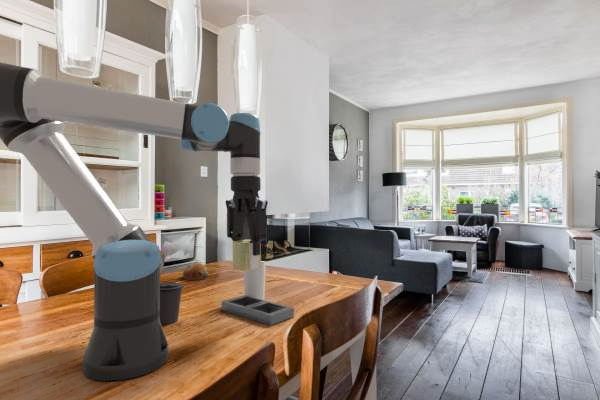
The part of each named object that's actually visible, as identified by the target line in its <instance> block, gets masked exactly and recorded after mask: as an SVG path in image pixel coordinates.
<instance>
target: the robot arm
mask: <svg viewBox="0 0 600 400" xmlns="http://www.w3.org/2000/svg"><path fill="white" fill-rule="evenodd" d="M65 123H69V124H70V123H71V124H77V125H84V126H90V127H96V128H97V127H98V128H103V129H108V130H109V129H111V130H116V131H123V132H129V133H130V132H131V133H137V134H143V135H151V136H156V137H164V138H168V139H169V138H171V139H177V140H180V148H181V149H182V150H184V151H192V152H195V153H196V152H225V153H227V152H228V153H230V174H231V175H232V176H231V177H230V190H231V191H232V192H233V195H232V198H231V199H226V201H225V206H226V237H227V238H230V239H231V241H232V242H233V241H238V240H245V239H244V237H243V232H244V231H243V230H244V227H245V226H244V225H245V220H246V219H247V220H246V221H247V225H248V231H249V237H250V239H251V241H249V242H250V243H249V269H255V268H259V255H260V242H261V243H262V241H266V240H267V238H268V237H267V236H268V235H267V233H268V232H267V208H268V203H269V201H268V199H262V198H260V196H259V191H261V189H262V188H261V184H262V183H261V177H260V176H259V175H260V174H261V126H260V118H259V117H258V116H257V115H256V114H254V113H251V112H235V113H233V114H231V115H230V117H229V115H228V114H227V112H226V111H225V110H224V108H222V106H220V105H218V104H215V103H210V102H207V103H203V104H201V105H197V104H191V103H185V102H181V101H180V102H179V101H175V100H168V99H163V98H160V97H159V98H158V97H155V96H154V97H153V96H149V95H147V96H146V95H144V94H143V95H142V94H137V93H132V92H127V91H126V92H125V91H121V90H117V89H111V88H105V87H101V86H100V87H99V86H96V85H95V86H94V85H90V84H85V83H79V82H74V81H68V80H62V79H58V78H52V77H47V76H44V75H43V74H42V73H41V71H39V70H38V69H35V68H30V67H25V66H20V65H15V64H11V63H6V62H0V140H1V141H2V143H3V144H4V145H5V146H6V147H7V149H8V151H11V152H14V153H20V154H22V155H23V156H24V157H25V159H26V160H27V161H28V162H29V164H30V165H31V167H32V168H33V169H34V171H35V172H36V173H37V174H38V176H39V177H40V178H41V180H42V181H43V182H44V184H46V186H47V187H48V189H49V190H50V192H51V193H52V194H53V195H54V196H55V198H56V199H57V201H58V202H59V203H60V204H61V206H62V207H63V209H64V210H65V211H66V212H67V213H68V215H69V216H70V217H71V219H73V221H74V223H76V225H77V226H78V228H79V229H80V230H81V231H82V232H83V234H84V235H85V236H86V238H87V239H88V240H89V243H91V245H92V250H91V257H92V258H93V263H92V264H93V270H94V271H93V272H94V279H93V280H94V281H93V282H94V284H93V286H94V287H93V290H94V293H93V294H94V295H93V301H94V303H93V330H92V332H91V336H90V338H89V341H88V344H87V346H86V349H85V352H84V354H83V357H82V373H83V375H84V376H85V377H86V378H88V379H91V380H94V381H101V382H102V381H104V382H113V381H112V380H117V381H125V380H130V379H133V377H135V378H137V376H138V377H140V376H141V375H142V376H144V374H145V375H147V374H149V372H150V373H151V371H152V372H154V371H156V370H158V369H159V368H161V367H162V366H164V365H165V363H167V362H168V359H169V343H168V340H167V336H166V335H165V332H164V329H163V325H161V323H160V283H161V277H162V274H163V270H164V265H165V263H164V262H165V261H164V257H163V253H162V251H161V249H160V246H159V245H158V244H157V243H155V242H154V241H151V240H150V239H149V237H148V236H147V234H146V233H145V232H144V230H143V229H142V228H141V226H140V225H138V224H133V223H129V222H128V220H127V219H126V218H125V216H124V215H123V214H122V213H121V211H120V210H119V208H118V206H117V205H116V204H115V202H114V201H113V200H112V199H111V197H110V196H109V195H108V193H107V192H106V190H105V189H104V188H103V186H102V185H101V184H100V182H99V181H98V179H96V177H95V176H94V174H93V173H92V172H91V170H90V169H89V168H88V166H87V165H86V163H85V162H84V161H83V159H82V158H81V157H80V155H79V154H78V153H77V152H76V150H75V149H74V148H73V146H72V145H71V143H70V142H69V140H68V138H67V137H66V136H65V135H64V133H65V129H66V124H65ZM157 368H158V369H157ZM129 378H130V379H129ZM124 379H125V380H124ZM106 380H107V381H106ZM109 380H111V381H109Z"/></svg>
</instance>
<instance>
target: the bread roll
mask: <svg viewBox="0 0 600 400" xmlns="http://www.w3.org/2000/svg"><path fill="white" fill-rule="evenodd" d="M209 274H210V271H209V269H208V267H207V266H206V265H205V264H202V263H201V262H194V263H190V264H188V265H187V266H186V267H185V269H184V270H183V272H182V275H183V277H182V278H183V279H184V280H188V281H201V280H206V279H208V278H209Z"/></svg>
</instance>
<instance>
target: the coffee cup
mask: <svg viewBox="0 0 600 400" xmlns="http://www.w3.org/2000/svg"><path fill="white" fill-rule="evenodd" d="M183 289H184V285H183V283H179V282H175V281H167V282H166V281H165V282H160V323H161V326H167V325H173V324H176V323H177V322H178V321H179V315H180V306H181V298H182V290H183Z"/></svg>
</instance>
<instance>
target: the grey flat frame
mask: <svg viewBox="0 0 600 400" xmlns="http://www.w3.org/2000/svg"><path fill="white" fill-rule="evenodd" d="M221 311H224V312H227V313H230V314H233V315H237V316H239V317H242V318H246V319H249V320H252V321H255V322H259V323H262V324H265V325H268V326H273V325H277V324H279V323H282V322H285V321H287V320H290V319H292V318H294V317H295V316H294V315H295V308H294V307H292V306H287V305H283V304H280V303H277V302H273V301H268V300H265V299H264V300H261V299H257V298H254V297H250V296H246V295H240V296H236V297H233V298H228V299H226V300H222V301H221ZM269 312H270V313H269Z"/></svg>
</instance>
